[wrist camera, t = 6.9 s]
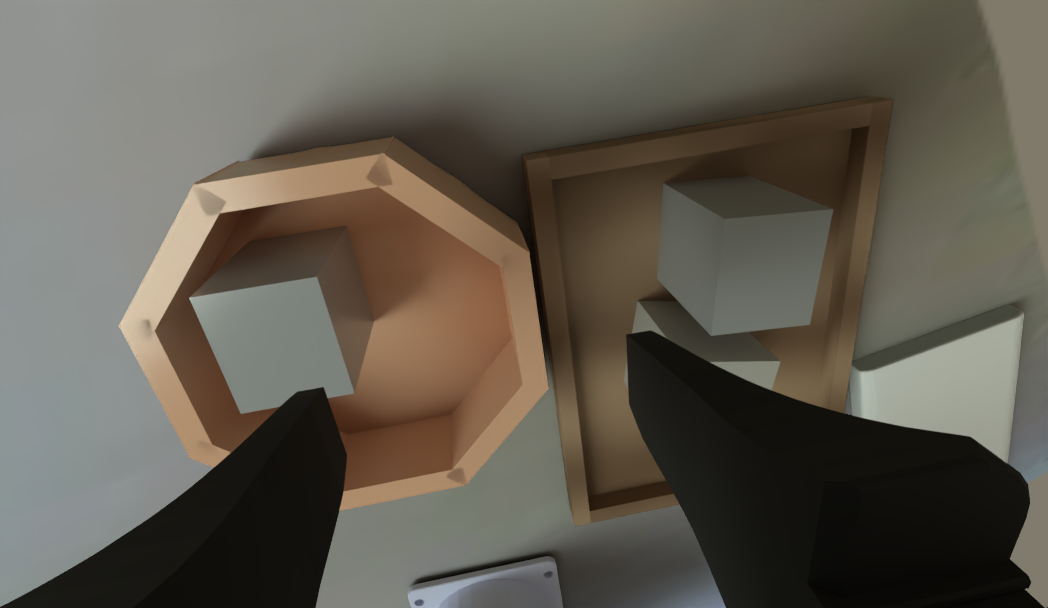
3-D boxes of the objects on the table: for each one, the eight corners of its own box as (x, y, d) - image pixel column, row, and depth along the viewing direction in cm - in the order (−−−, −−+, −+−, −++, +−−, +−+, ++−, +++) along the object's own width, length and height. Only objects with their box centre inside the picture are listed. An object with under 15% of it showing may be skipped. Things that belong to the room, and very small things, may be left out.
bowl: (543, 406, 25) (560, 466, 21) (262, 461, 24) (230, 533, 20) (500, 116, 19) (512, 131, 15) (130, 176, 18) (52, 206, 15)
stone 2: (736, 270, 22) (809, 324, 18) (657, 278, 22) (711, 335, 18) (749, 175, 21) (833, 208, 16) (663, 182, 20) (724, 218, 16)
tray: (818, 454, 28) (834, 471, 27) (569, 506, 28) (575, 526, 26) (867, 96, 20) (893, 99, 19) (521, 154, 20) (526, 161, 18)
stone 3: (696, 379, 25) (752, 452, 20) (623, 380, 24) (664, 455, 20) (714, 301, 23) (780, 361, 18) (637, 300, 22) (685, 361, 18)
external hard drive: (997, 298, 26) (984, 474, 32) (839, 357, 27) (854, 520, 32) (1029, 313, 25) (1010, 494, 30) (862, 374, 25) (873, 543, 30)
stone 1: (374, 321, 21) (354, 393, 17) (284, 336, 21) (240, 413, 16) (346, 225, 19) (317, 276, 15) (249, 241, 19) (189, 297, 15)
